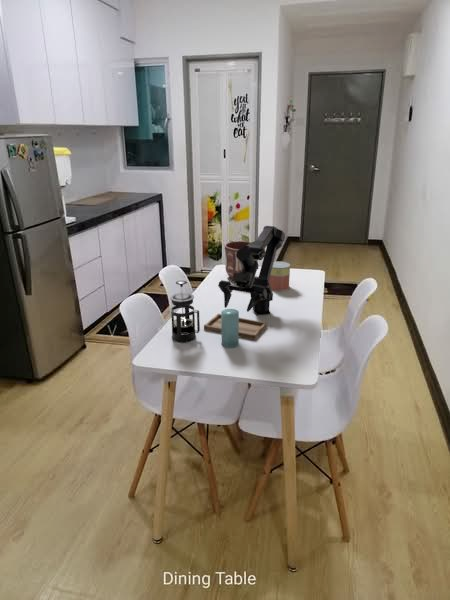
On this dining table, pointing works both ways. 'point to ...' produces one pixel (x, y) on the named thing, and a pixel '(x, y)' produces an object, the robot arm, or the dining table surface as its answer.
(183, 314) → the french press
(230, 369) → the dining table surface
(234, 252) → the pottery
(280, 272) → the canned food
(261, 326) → the tray
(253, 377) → the dining table surface
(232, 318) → the tumbler
